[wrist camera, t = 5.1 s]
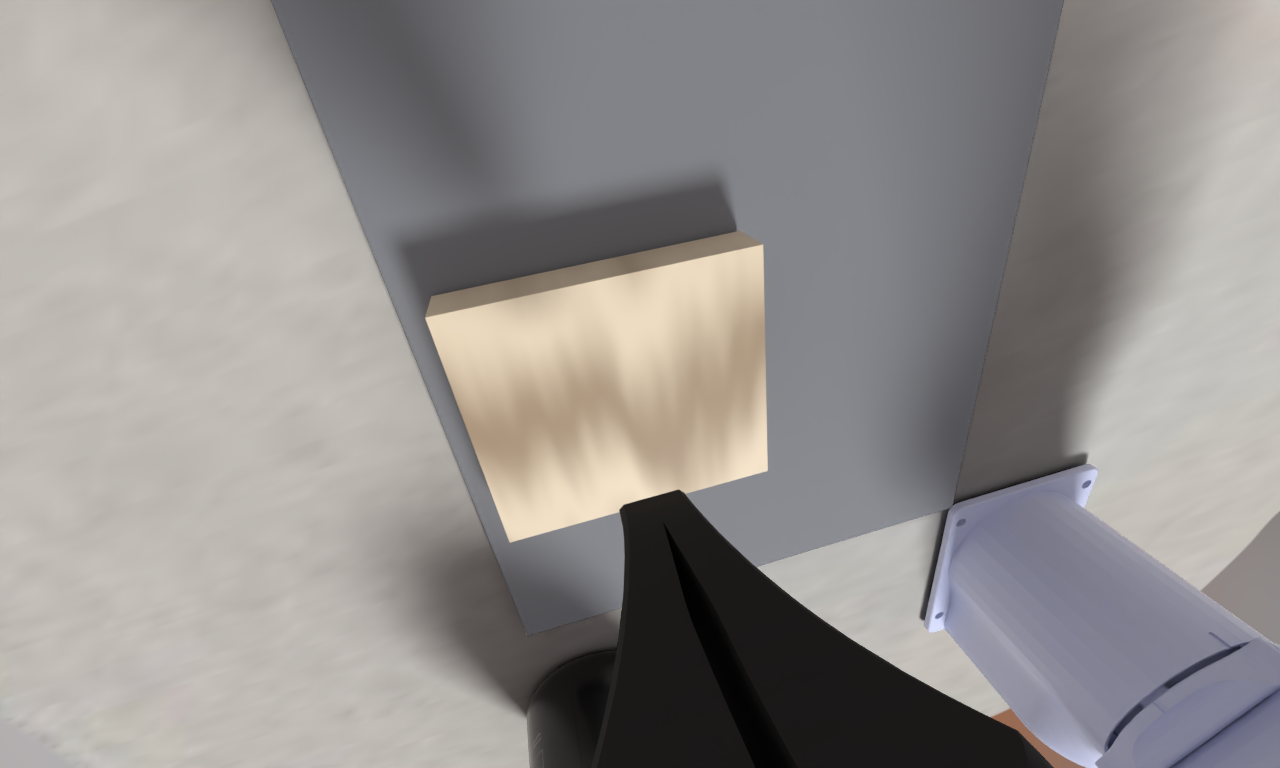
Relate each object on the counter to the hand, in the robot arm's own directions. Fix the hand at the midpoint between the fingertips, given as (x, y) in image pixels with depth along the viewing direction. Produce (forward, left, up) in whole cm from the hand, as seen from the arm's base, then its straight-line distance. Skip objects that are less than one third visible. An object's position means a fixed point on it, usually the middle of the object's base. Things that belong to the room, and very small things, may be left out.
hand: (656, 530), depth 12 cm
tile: (0, -5, -6) cm, 8 cm away
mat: (0, -5, -7) cm, 9 cm away
